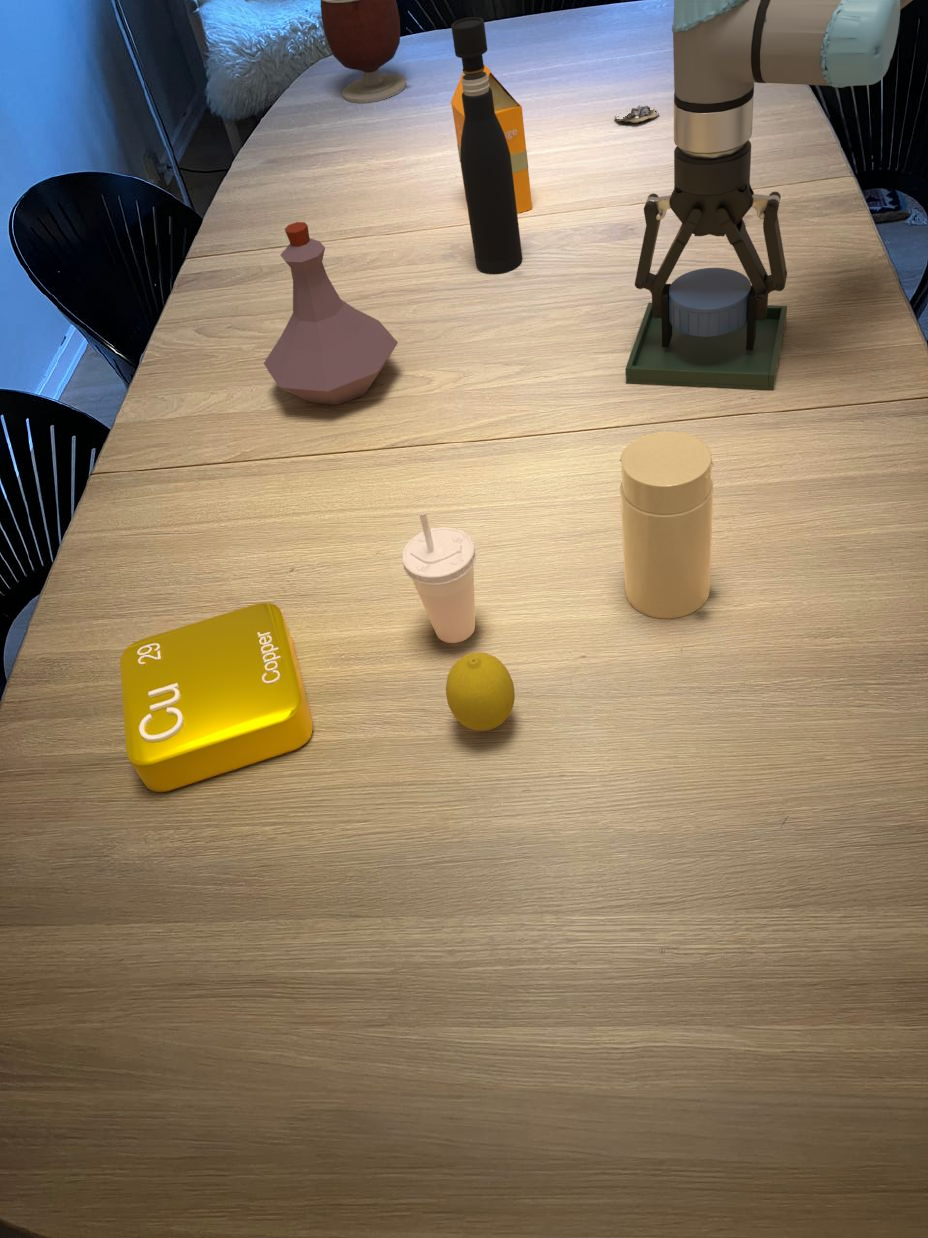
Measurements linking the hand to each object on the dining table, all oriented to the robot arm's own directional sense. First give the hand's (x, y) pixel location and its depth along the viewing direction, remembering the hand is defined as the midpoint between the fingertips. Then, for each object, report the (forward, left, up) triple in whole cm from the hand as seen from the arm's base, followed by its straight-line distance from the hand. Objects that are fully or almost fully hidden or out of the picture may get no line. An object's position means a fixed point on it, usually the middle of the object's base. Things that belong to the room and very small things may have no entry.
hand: (708, 342), depth 119 cm
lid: (0, 0, +3) cm, 3 cm away
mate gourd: (+74, -84, -1) cm, 112 cm away
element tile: (+34, +60, -1) cm, 69 cm away
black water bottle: (+31, -20, -1) cm, 37 cm away
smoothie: (+16, +47, -1) cm, 50 cm away
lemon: (+10, +57, -2) cm, 58 cm away
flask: (+43, +10, -1) cm, 44 cm away
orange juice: (+36, -37, -1) cm, 52 cm away
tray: (0, 0, -1) cm, 1 cm away
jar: (-2, +39, -1) cm, 39 cm away
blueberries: (+21, -68, -1) cm, 71 cm away
